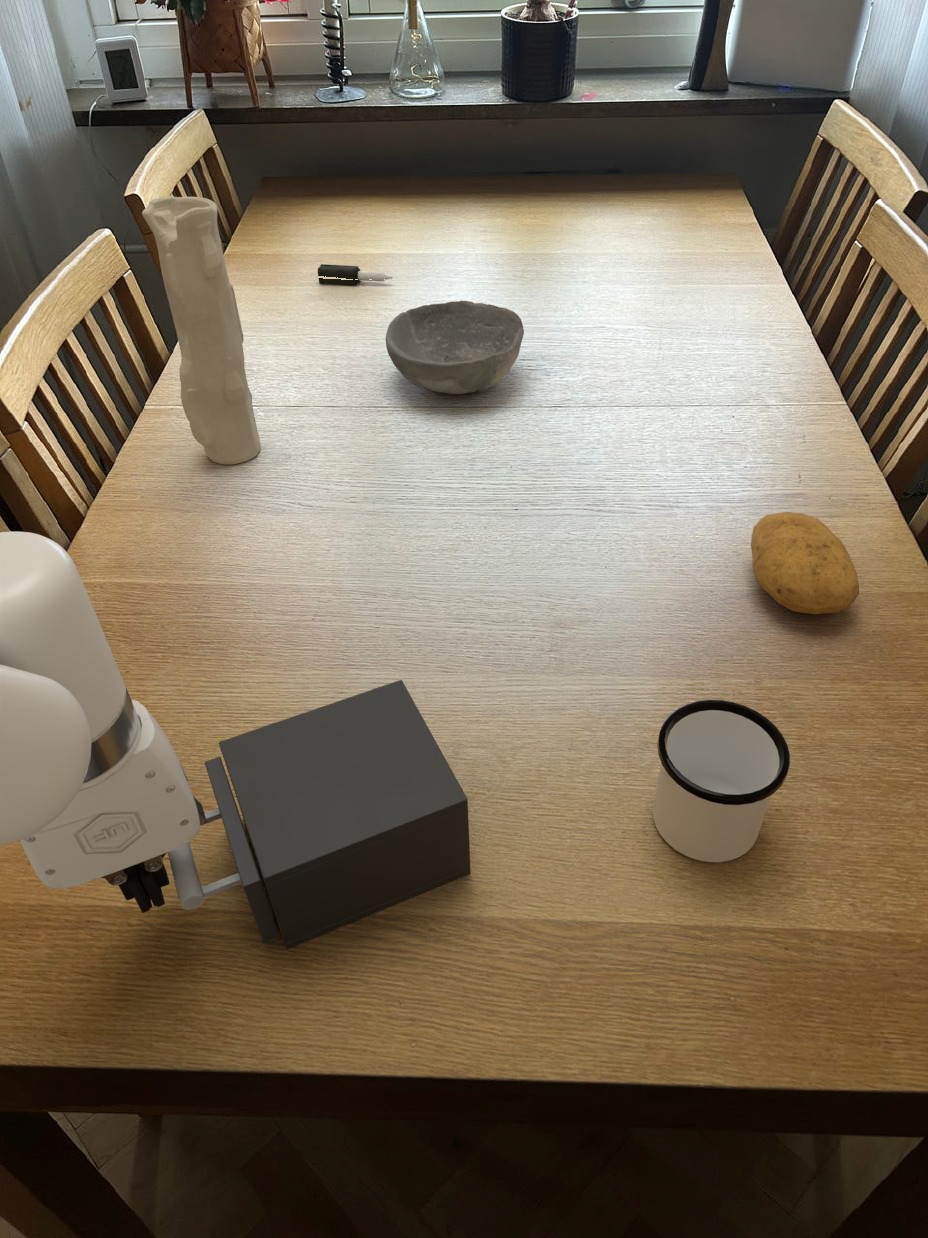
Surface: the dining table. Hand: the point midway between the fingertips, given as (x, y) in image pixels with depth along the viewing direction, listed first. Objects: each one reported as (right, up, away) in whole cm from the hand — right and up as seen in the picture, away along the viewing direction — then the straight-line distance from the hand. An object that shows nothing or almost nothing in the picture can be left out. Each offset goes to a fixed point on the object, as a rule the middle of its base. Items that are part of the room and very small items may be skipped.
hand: (150, 892), depth 66 cm
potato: (+56, +22, +27) cm, 66 cm away
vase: (-6, +40, +48) cm, 63 cm away
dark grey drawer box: (+14, +2, +7) cm, 15 cm away
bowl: (+21, +51, +59) cm, 81 cm away
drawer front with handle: (+10, +1, +5) cm, 11 cm away
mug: (+42, +4, +9) cm, 43 cm away
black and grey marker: (+5, +74, +83) cm, 111 cm away
